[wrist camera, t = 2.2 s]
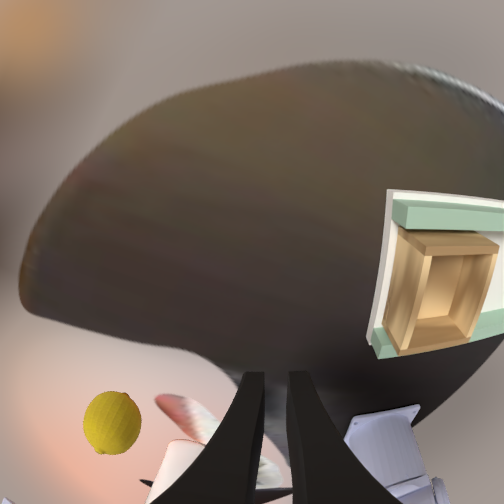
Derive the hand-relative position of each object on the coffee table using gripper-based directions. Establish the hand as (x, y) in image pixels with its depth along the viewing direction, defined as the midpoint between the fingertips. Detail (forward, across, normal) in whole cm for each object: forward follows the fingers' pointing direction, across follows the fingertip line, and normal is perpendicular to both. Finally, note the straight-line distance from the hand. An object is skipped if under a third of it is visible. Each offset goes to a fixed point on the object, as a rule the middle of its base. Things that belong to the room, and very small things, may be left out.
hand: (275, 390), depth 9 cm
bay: (+9, -15, 0) cm, 18 cm away
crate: (+8, -11, 0) cm, 13 cm away
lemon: (+10, +15, +14) cm, 23 cm away
